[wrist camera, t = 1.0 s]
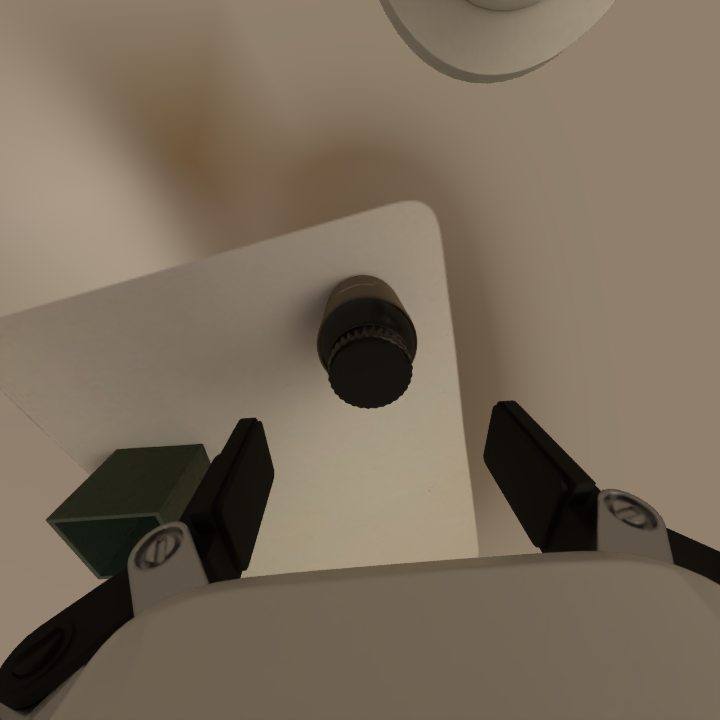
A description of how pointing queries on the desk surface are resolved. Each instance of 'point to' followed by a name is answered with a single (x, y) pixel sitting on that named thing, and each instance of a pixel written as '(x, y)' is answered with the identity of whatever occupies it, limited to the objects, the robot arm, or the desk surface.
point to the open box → (128, 503)
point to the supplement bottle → (366, 343)
